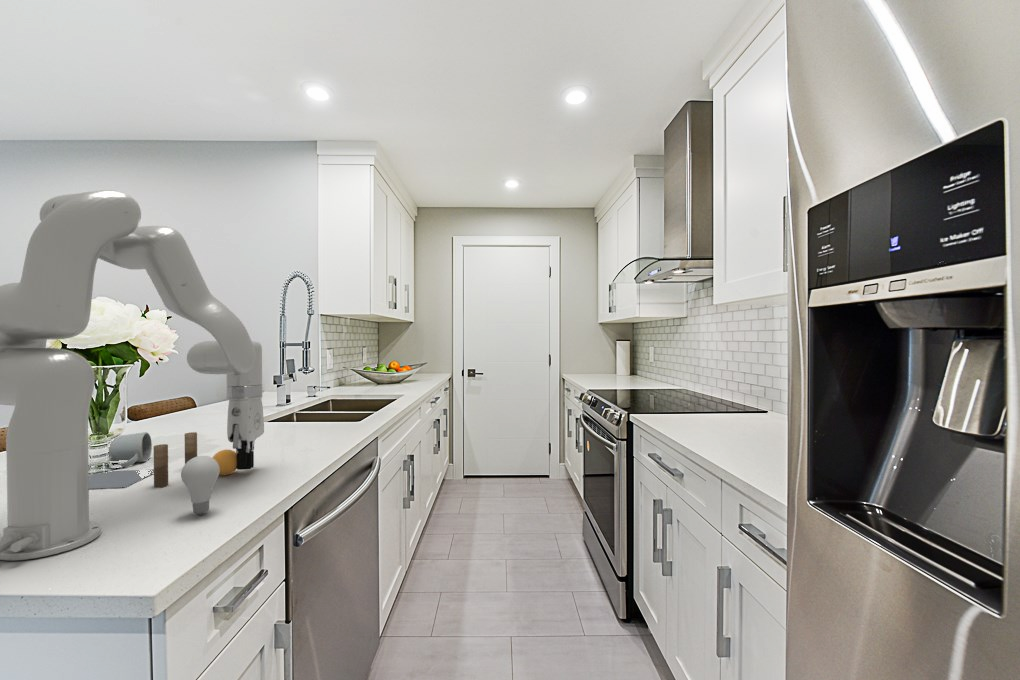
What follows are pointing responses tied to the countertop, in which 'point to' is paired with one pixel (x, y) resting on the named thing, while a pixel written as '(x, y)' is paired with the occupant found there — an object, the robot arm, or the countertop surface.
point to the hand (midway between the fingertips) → (245, 468)
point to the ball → (226, 461)
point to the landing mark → (114, 479)
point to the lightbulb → (200, 481)
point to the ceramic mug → (131, 448)
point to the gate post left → (160, 465)
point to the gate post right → (190, 446)
